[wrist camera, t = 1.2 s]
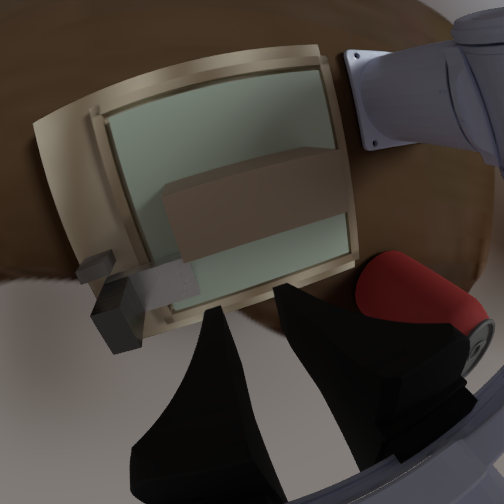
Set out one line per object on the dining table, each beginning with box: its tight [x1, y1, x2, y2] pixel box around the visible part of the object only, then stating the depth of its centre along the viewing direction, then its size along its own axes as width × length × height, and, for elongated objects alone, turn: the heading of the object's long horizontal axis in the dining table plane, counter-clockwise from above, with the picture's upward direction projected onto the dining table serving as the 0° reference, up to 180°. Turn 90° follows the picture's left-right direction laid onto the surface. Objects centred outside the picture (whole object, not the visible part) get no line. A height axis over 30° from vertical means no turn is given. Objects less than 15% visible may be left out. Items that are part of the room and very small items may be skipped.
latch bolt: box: [90, 252, 201, 354], centre depth 14 cm, size 5×2×4 cm, turn 103°
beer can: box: [355, 250, 495, 378], centre depth 19 cm, size 7×7×12 cm
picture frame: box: [33, 45, 359, 339], centre depth 16 cm, size 18×16×4 cm
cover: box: [108, 70, 349, 311], centre depth 14 cm, size 12×12×5 cm
